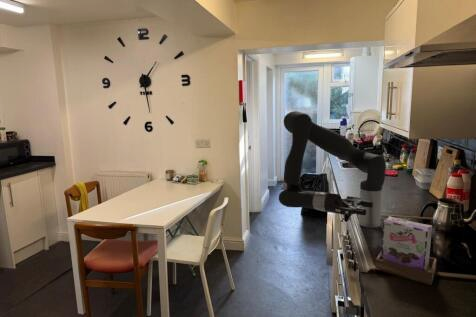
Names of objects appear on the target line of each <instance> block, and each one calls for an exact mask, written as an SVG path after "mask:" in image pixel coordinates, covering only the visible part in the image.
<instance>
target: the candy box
mask: <svg viewBox="0 0 476 317" xmlns="http://www.w3.org/2000/svg"><path fill="white" fill-rule="evenodd" d="M432 230H433V225H430V224H424V223H421V222H416V221H411V220H407V219H403V218H402V219H401V218H398V217H393V216H390V215H389V216H388V217H386V218H385V219H384V220H383V222H382V239H381V242H382V243H381V250H382V255H381V260H385V261H388V262H392V263H396V264H400V265H404V266H408V267H412V268H416V269H420V270H424V271H428V266H429V257H430V252H431V243H432V241H431V240H432Z"/></svg>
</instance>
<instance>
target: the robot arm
mask: <svg viewBox="0 0 476 317" xmlns="http://www.w3.org/2000/svg"><path fill="white" fill-rule="evenodd" d="M283 125H284V128H285V129H286V130H287V132H289V133H290V134H292V135H291V136H292V143H291V147H290V150H289V153H288V156H287V158H286V160H285V162H284V163H285V164H284V170H283V171H284V172H283V183H285V184H286V189H284V190H281V192H280V193H279V195H278V201H279V203H280V204H281V205H282V206H284V207H286V208H306V209H313V210H317V211H321V212H325V213H332V214H339V215H343V216H349V217H352V215H353V216H354V215H359V216H358V218H359V219H358V224H359V225H360V226H362V227H364V228H367V229H368V228H369V229H370V228H371V229H377V228H379V227H381V221H382V220H381V218H382V201H383V200H382V197H383V186H384V183H385V180H386V169H387V165H386V164H387V162H386V159H385V157H384V156H382V155H381V154H375V153H371V152H368V151H364V150H362V149H359V148H358V147H356V146H355V145H353V143H352V142H351V141H350V139H348V138H347V137H346V136H344V135H342V134H340V133H339V132H336V131H335V130H332V129H330V128H327V127H324V126H321V125H319V124H317V123H314V122H313V120H312V118H311V116H310V115H309V114H308V113H305V112H302V111H298V110H297V111H296V110H293V111H290V112H288V113H286V115H285V116H284V117H283ZM308 141H309V142H311V143H312V144H314V145H316V146H317V147H318V148H320V149H321V150H323V151H325V152H326V153H328V154H329V155H331V156H333V157H336V158H338V159H340V160H343V161H346V162H348V163H349V164H350V165H353V166H354V167H355V168H357V169H358V170H359V171H360V172H362V173H366V175H367V176H366V180H362V181H360V184H359V185H360V187H359V196H358V197H357V196H348V195H347V196H346V198H342V196H341V194H339V193H333V192H325V191H313V190H312V191H311V190H304V191H302V186H301V185H302V184H301V178H302V177H301V176H302V169H303V163H304V162H303V161H304V157H305V153H306V149H307V145H308Z"/></svg>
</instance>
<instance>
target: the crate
mask: <svg viewBox="0 0 476 317" xmlns="http://www.w3.org/2000/svg"><path fill="white" fill-rule="evenodd" d="M381 255H382V249H381V251H380V252H379V254H378V255H377V257H376V259H375V269H376V268H377V269H380V270H382V271H383V273H386V274H390V275H394V276H396V277H400V278H404V279H409V280H412V281H415V282H419V283H423V284H426V285H430V286H432V284H433V281H434V278H435V274H434V273H436V270H437V258H436V257H433V256H432V257H431V256H429V266H428V271H424V270H420V269H416V268H412V267H408V266H404V265H400V264H396V263H392V262H388V261H385V260H381ZM382 271H381V272H382Z"/></svg>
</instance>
